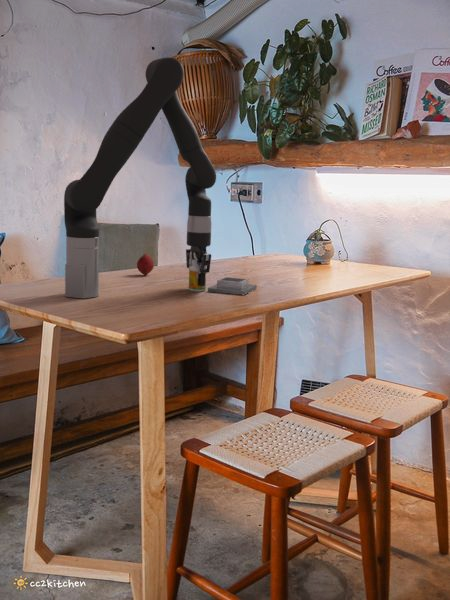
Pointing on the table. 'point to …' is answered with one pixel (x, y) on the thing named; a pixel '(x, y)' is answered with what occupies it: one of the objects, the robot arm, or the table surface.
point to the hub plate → (232, 286)
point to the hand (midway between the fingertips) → (197, 283)
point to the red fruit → (145, 264)
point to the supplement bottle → (195, 278)
